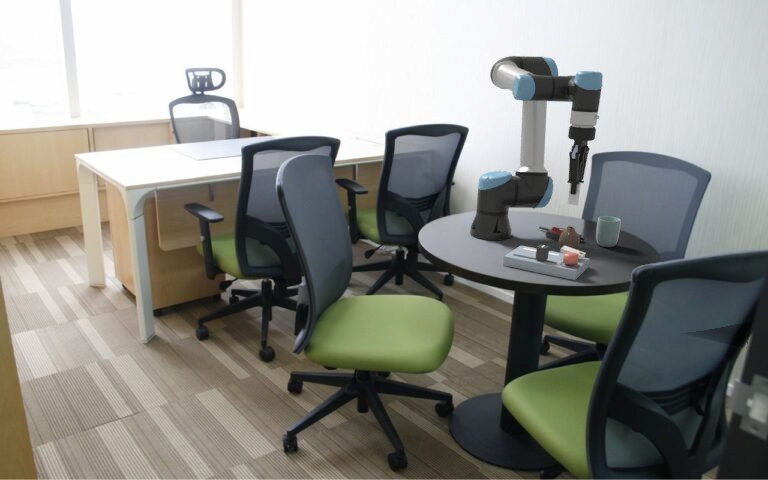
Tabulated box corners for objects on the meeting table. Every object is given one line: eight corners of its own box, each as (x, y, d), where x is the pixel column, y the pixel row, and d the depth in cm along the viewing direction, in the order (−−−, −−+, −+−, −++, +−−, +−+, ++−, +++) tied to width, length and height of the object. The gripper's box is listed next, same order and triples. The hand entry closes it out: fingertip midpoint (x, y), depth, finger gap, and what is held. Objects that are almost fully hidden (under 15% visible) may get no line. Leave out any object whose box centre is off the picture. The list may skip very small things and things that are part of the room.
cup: (618, 249, 224) (622, 222, 221) (595, 247, 225) (599, 220, 222) (615, 243, 231) (619, 216, 228) (593, 241, 232) (596, 215, 230)
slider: (535, 259, 199) (536, 246, 198) (538, 256, 201) (540, 244, 200) (544, 260, 197) (546, 248, 196) (547, 258, 200) (549, 245, 199)
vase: (554, 251, 219) (556, 227, 217) (563, 247, 224) (565, 223, 222) (572, 256, 215) (575, 231, 212) (581, 251, 220) (584, 227, 217)
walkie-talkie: (587, 241, 233) (540, 230, 247) (589, 230, 232) (541, 219, 246) (575, 246, 227) (527, 234, 241) (576, 234, 226) (528, 222, 240)
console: (502, 265, 203) (504, 252, 202) (519, 253, 215) (520, 241, 214) (574, 280, 191) (576, 266, 190) (588, 267, 204) (589, 254, 202)
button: (561, 262, 194) (561, 254, 194) (565, 259, 198) (566, 251, 197) (575, 265, 192) (576, 257, 191) (579, 261, 196) (580, 253, 195)
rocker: (559, 251, 202) (561, 248, 201) (563, 248, 205) (564, 245, 205) (581, 259, 199) (582, 255, 198) (584, 256, 202) (586, 252, 201)
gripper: (589, 129, 179) (579, 210, 186) (601, 125, 189) (591, 202, 196) (563, 126, 182) (554, 206, 189) (576, 122, 193) (567, 198, 200)
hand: (572, 204), depth 193 cm, fingers closed
